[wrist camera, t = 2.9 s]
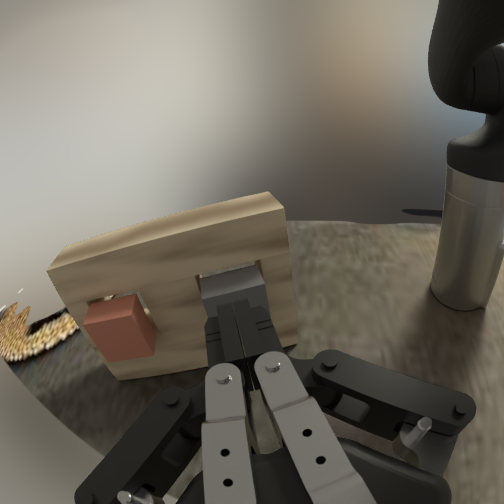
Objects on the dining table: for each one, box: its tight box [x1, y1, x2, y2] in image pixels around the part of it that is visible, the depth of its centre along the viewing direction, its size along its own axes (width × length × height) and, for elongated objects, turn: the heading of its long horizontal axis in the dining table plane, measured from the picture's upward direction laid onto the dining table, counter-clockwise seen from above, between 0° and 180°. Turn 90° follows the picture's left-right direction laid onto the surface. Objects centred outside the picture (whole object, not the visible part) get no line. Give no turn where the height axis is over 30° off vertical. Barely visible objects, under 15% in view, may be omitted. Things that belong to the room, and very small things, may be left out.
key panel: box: [47, 192, 298, 381], centre depth 27 cm, size 5×22×16 cm, turn 101°
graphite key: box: [200, 264, 271, 337], centre depth 24 cm, size 3×5×5 cm, turn 102°
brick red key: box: [83, 294, 156, 363], centre depth 23 cm, size 3×5×5 cm, turn 101°
